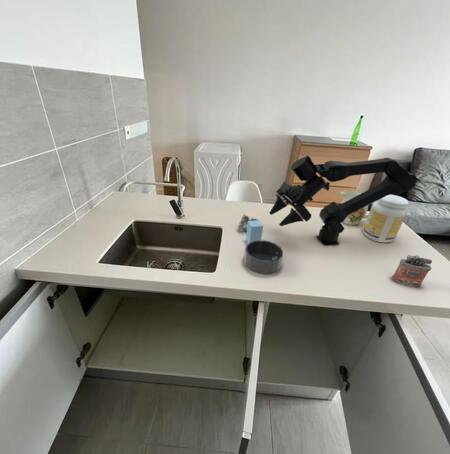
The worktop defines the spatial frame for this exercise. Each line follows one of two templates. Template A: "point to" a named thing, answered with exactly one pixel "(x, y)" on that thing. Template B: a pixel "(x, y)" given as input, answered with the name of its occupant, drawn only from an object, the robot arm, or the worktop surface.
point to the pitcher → (357, 215)
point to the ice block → (254, 231)
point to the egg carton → (245, 223)
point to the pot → (263, 257)
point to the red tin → (412, 271)
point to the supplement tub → (385, 218)
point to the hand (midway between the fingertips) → (274, 219)
